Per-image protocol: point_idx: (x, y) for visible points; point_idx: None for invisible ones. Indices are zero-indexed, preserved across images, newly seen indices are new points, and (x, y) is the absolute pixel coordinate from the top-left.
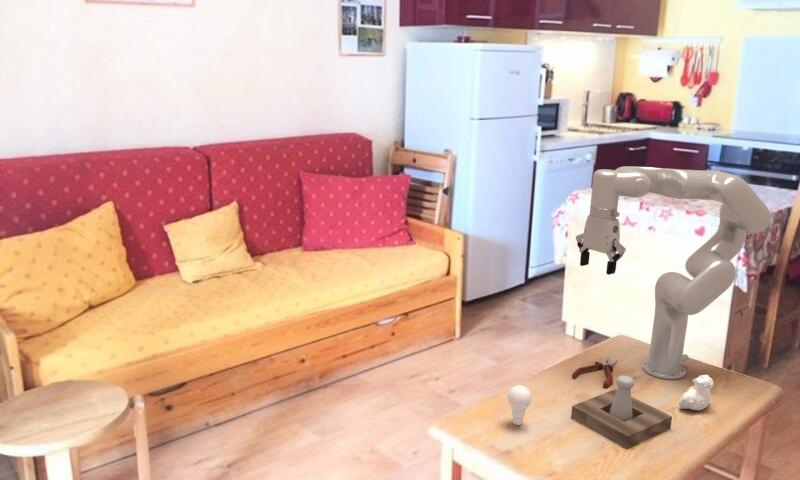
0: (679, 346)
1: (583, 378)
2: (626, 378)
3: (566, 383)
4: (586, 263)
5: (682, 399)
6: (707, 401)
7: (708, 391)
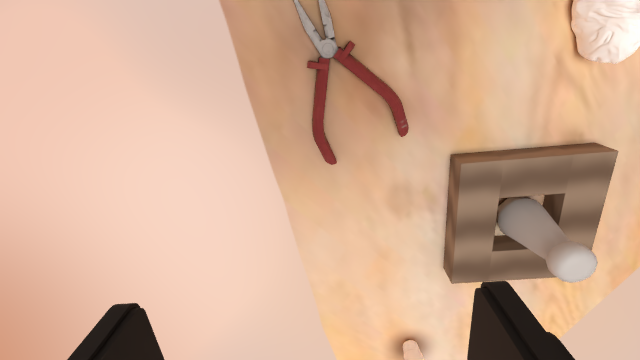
0: None
1: (341, 138)
2: (583, 270)
3: (341, 188)
4: (145, 346)
5: (609, 62)
6: None
7: None
